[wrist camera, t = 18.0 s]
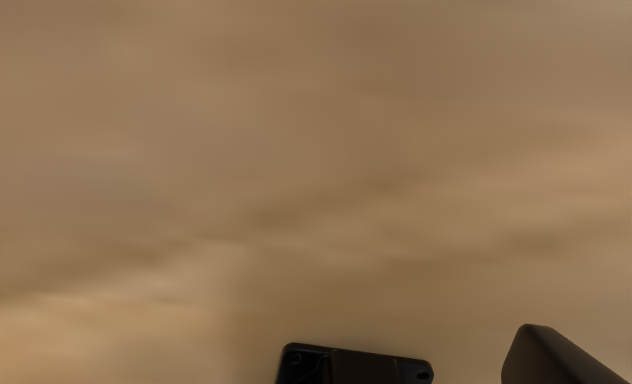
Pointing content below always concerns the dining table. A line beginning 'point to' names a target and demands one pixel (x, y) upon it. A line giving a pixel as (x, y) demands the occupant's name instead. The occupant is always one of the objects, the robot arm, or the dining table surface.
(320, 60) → the dining table surface
